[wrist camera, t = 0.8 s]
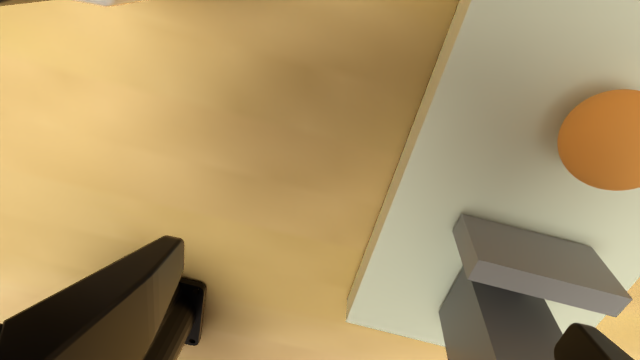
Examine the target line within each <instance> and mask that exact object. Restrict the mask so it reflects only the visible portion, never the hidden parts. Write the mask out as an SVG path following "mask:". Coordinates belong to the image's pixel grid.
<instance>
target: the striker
mask: <svg viewBox="0 0 640 360" xmlns="http://www.w3.org/2000/svg"><path fill="white" fill-rule="evenodd" d="M452 232H453V235H454V239H455V242H456V245H457V248H458V251H459V255H460V258H461V261H462V264H463V269H462V271H461V273H460V274H459V276H458V278H457V280H456V282H455V283H454V285H453V287H452V289H451V290H450V292H449V294H448V296H447V298H446V299H445V301H444V303H443V305H442V307H441V308H440V310H439V317H440V322H441V327H442V332H443V337H444V342H445V347H446V352H447V357H448V360H555V359H554V347H555V344H556V343H557V341H558V340H559V339H560V337H561V336H562V335H563V334H562V332H561V330H560V328H559V326H558V324H557V322H556V320H555V318H554V316H553V315H552V313H551V311H550V309H549V307H548V305H547V303H546V301H545V299H546V300H550V301H554V302H558V303H562V304H566V305H569V306H573V307H577V308H581V309H585V310H589V311H593V312H597V313H601V314H605V315H609V316H613V317H617V316H618V315H619V314H620V313H621V311H622V310H623V309H624V308H625V307H626V306H627V305H628V304H629V303H630V301H631V300H632V298H631V296H630V295H629V294H628V293H627V291H626V290H625V289H624V287H623V286H622V285H621V284H620V282H619V281H618V280H617V279H616V277H615V276H614V275H613V273H612V272H611V271H610V270H609V268H608V267H607V266H606V265H605V263H604V262H603V261H602V259H601V258H600V257H599V256H598V254H597V253H596V252H595V251H594V249H593V248H592V247H590V246H586V245H582V244H578V243H574V242H570V241H567V240H563V239H559V238H555V237H551V236H547V235H543V234H539V233H535V232H532V231H528V230H524V229H520V228H516V227H512V226H508V225H504V224H500V223H497V222H493V221H489V220H485V219H481V218H477V217H473V216H469V215H465V214H462V213H461V215H460V217H459V219H458V221H457V223H456V225H455V227H454V229H453V231H452Z"/></svg>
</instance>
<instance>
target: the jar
mask: <svg viewBox="0 0 640 360" xmlns="http://www.w3.org/2000/svg"><path fill="white" fill-rule="evenodd" d="M40 1H49V0H0V6H5V5H14V4H23V3H32V2H40ZM73 1H78V2H83V3H89V4H94V5H99V6H104V7H111V6H117V5H123V4H129V3H135V2H141V1H147V0H73Z"/></svg>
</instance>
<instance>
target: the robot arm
mask: <svg viewBox="0 0 640 360" xmlns="http://www.w3.org/2000/svg"><path fill="white" fill-rule="evenodd" d="M183 269H184V241H183V240H182V239H181V238H177V237H172V236H163V237H161V238H159V239H157V240H155V241H153V242H151V243H150V244H148V245H146V246H144V247H142V248H140V249H138V250H136V251H134V252H133V253H131V254H129V255H127V256H125V257H123V258H121V259H119V260H118V261H116V262H114V263H112V264H110V265H108V266H106V267H104V268H102V269H101V270H99V271H97V272H95V273H93V274H91V275H89V276H87V277H86V278H84V279H82V280H80V281H78V282H76V283H74V284H72V285H70V286H69V287H67V288H65V289H63V290H61V291H59V292H57V293H55V294H54V295H52V296H50V297H48V298H46V299H44V300H42V301H40V302H38V303H37V304H35V305H33V306H31V307H29V308H27V309H25V310H23V311H22V312H20V313H18V314H16V315H14V316H12V317H10V318H8V319H6V320H5V321H4V322H3V324H1V323H0V360H177V358H178V356H179V354H180V352H181V350H182V347H183V345H184V344H188V345H193V346H195V345H197V344H198V343H199V341H200V338H201V329H202V320H203V311H204V302H205V293H206V287H205V285H204V284H202V283H200V282H196V281H192V280H188V279H184V278H181V276H182V273H183ZM198 289H199V290H198ZM554 359H555V360H634V359H633V358H631V357H630V356H629V355H628V354H627V353H625V352H624V351H623V350H622V349H621V348H619V347H618V346H617V345H616V344H614V343H613V342H612V341H611V340H610V339H608V338H607V337H606V336H605V335H604V334H602V333H601V332H600V331H599V330H597V329H596V328H595V327H593V326H590V325H586V324H581V323H572V324H570V325H569V327H568V328H567V329H566V331H565V332H564V333H563V335H562V336H561V337H560V339H559V340H558V341H557V343H556V344H555V347H554Z"/></svg>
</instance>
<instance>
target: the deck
mask: <svg viewBox="0 0 640 360" xmlns="http://www.w3.org/2000/svg"><path fill="white" fill-rule="evenodd" d="M620 89H631V90H638V91H640V0H460V1H459V3H458V6H457V9H456V11H455V14H454V17H453V19H452V22H451V25H450V27H449V30H448V33H447V35H446V38H445V41H444V43H443V46H442V49H441V51H440V54H439V57H438V59H437V62H436V64H435V67H434V70H433V72H432V75H431V78H430V80H429V83H428V86H427V88H426V91H425V94H424V96H423V99H422V102H421V104H420V107H419V110H418V112H417V115H416V118H415V120H414V123H413V126H412V128H411V131H410V134H409V136H408V139H407V142H406V144H405V147H404V149H403V152H402V155H401V157H400V160H399V163H398V165H397V168H396V171H395V173H394V176H393V179H392V181H391V184H390V187H389V189H388V192H387V195H386V197H385V200H384V203H383V205H382V208H381V211H380V213H379V216H378V219H377V221H376V224H375V226H374V229H373V232H372V234H371V237H370V240H369V242H368V245H367V248H366V250H365V253H364V256H363V258H362V261H361V264H360V266H359V269H358V272H357V274H356V277H355V280H354V282H353V285H352V288H351V290H350V293H349V296H348V298H347V312H346V322H348V323H352V324H356V325H360V326H364V327H368V328H372V329H376V330H380V331H384V332H388V333H392V334H396V335H400V336H404V337H408V338H412V339H416V340H420V341H424V342H428V343H432V344H436V345H440V346H444V347H445V342H444V337H443V332H442V327H441V322H440V317H439V310H440V308H441V307H442V305H443V303H444V301H445V299H446V298H447V296H448V294H449V292H450V290H451V289H452V287H453V285H454V283H455V282H456V280H457V278H458V276H459V274H460V273H461V271H462V269H463V264H462V261H461V258H460V255H459V251H458V248H457V245H456V242H455V239H454V235H453V232H452V231H453V229H454V227H455V225H456V223H457V221H458V219H459V217H460V215H461V213H462V214H465V215H469V216H473V217H477V218H481V219H485V220H489V221H493V222H497V223H500V224H504V225H508V226H512V227H516V228H520V229H524V230H528V231H532V232H535V233H539V234H543V235H547V236H551V237H555V238H559V239H563V240H567V241H570V242H574V243H578V244H582V245H586V246H590V247H592V248H593V249H594V251H595V252H596V253H597V254H598V256H599V257H600V258H601V259H602V261H603V262H604V263H605V265H606V266H607V267H608V268H609V270H610V271H611V272H612V273H613V275H614V276H615V277H616V279H617V280H618V281H619V282H620V284H621V285H622V286H623V287H624V289H625V290H626V291H628V290H629V288H630V287H631V286H632V285H633V284H634V283H635V282H636V281H637V279H638V278H639V277H640V187H639V188H636V189H631V190H622V191H612V190H604V189H599V188H595V187H592V186H589V185H587V184H585V183H583V182H581V181H580V180H578V179H577V178H575V177H574V176H573V175H572V174H571V173H570V172H569V171H568V170H567V169H566V167H565V166H564V165H563V163H562V161H561V159H560V156H559V153H558V145H557V139H558V134H559V130H560V127H561V125H562V123H563V121H564V119H565V118H566V116H567V115H568V114H569V113H570V112H571V111H572V110H573V109H574V108H575V107H576V106H577V105H578V104H580V103H581V102H583V101H584V100H586V99H588V98H590V97H591V96H594V95H597V94H599V93H602V92H606V91H611V90H620ZM545 301H546V303H547V305H548V307H549V309H550V311H551V313H552V315H553V316H554V318H555V320H556V322H557V324H558V326H559V328H560V330H561V332H562V334H563V333H564V332H565V331H566V329H567V328H568V327H569V325H570V324H572V323H581V324H586V325H590V326H593V327H596V326H597V325H598V324H599V322H600V321H601V320H602V319H603V318H604V317H605V316H606V315H605V314H601V313H597V312H593V311H589V310H585V309H581V308H577V307H573V306H569V305H566V304H562V303H558V302H554V301H550V300H546V299H545Z"/></svg>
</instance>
